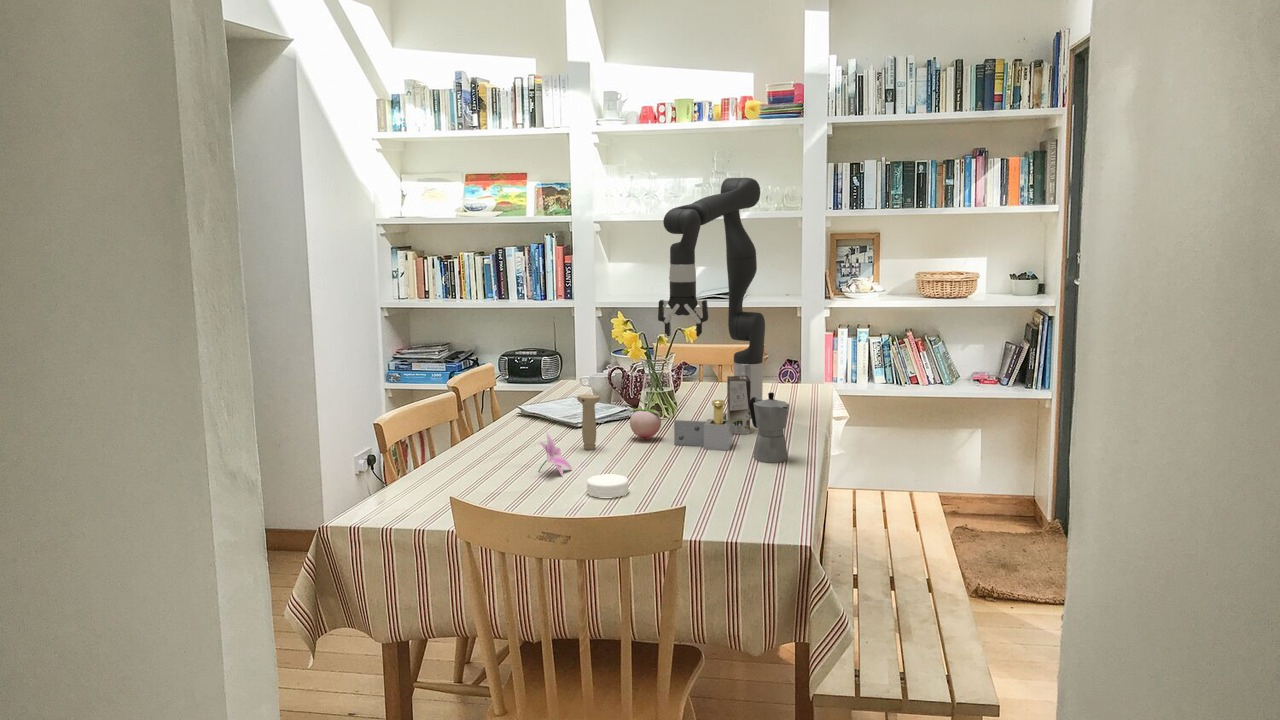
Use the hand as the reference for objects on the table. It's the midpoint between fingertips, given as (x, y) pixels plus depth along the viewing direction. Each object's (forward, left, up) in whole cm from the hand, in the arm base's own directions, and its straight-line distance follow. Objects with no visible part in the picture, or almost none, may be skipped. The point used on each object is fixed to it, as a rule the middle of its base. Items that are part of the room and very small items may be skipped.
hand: (683, 336), depth 279 cm
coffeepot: (+19, +26, -30) cm, 44 cm away
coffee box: (-11, +15, -30) cm, 35 cm away
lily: (+44, -25, -30) cm, 59 cm away
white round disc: (+57, -7, -30) cm, 65 cm away
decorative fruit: (+5, -10, -30) cm, 32 cm away
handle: (+18, -23, -30) cm, 42 cm away
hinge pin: (+9, +12, -30) cm, 33 cm away
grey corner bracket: (+5, +7, -30) cm, 31 cm away
